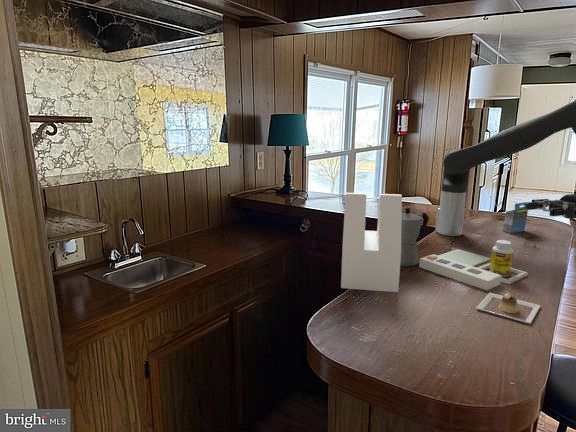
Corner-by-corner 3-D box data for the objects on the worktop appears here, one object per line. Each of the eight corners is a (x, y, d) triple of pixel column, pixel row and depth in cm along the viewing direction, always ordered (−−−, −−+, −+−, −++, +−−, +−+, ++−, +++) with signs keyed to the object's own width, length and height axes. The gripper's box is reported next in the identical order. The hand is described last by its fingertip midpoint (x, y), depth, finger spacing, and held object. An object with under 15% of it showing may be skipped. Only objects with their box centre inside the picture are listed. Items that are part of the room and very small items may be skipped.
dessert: (540, 309, 104) (543, 291, 103) (530, 327, 95) (533, 308, 94) (489, 296, 111) (491, 279, 110) (475, 312, 102) (477, 294, 101)
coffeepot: (397, 269, 129) (401, 212, 124) (378, 259, 137) (381, 206, 132) (435, 261, 135) (440, 208, 130) (415, 253, 143) (419, 202, 139)
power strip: (419, 267, 130) (419, 257, 130) (437, 260, 136) (438, 251, 135) (487, 290, 113) (488, 279, 112) (504, 282, 119) (506, 271, 118)
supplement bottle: (490, 276, 123) (494, 243, 120) (487, 269, 128) (491, 238, 126) (511, 278, 121) (516, 245, 119) (507, 271, 127) (512, 239, 124)
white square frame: (472, 272, 126) (472, 268, 126) (491, 264, 132) (491, 261, 132) (508, 284, 117) (509, 280, 117) (527, 275, 124) (527, 271, 123)
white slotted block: (398, 292, 112) (404, 202, 106) (341, 288, 115) (344, 200, 109) (393, 267, 131) (399, 188, 124) (344, 264, 133) (347, 187, 127)
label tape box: (516, 228, 174) (520, 199, 171) (525, 230, 170) (529, 201, 167) (502, 231, 170) (506, 201, 167) (511, 233, 166) (515, 203, 163)
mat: (437, 257, 139) (437, 255, 139) (457, 250, 146) (457, 248, 146) (470, 267, 130) (470, 266, 130) (490, 259, 137) (490, 258, 137)
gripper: (560, 189, 133) (520, 192, 129) (605, 198, 120) (561, 201, 116) (557, 212, 135) (517, 216, 131) (600, 223, 122) (557, 227, 117)
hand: (538, 209), depth 123 cm, fingers open, 8 cm apart
